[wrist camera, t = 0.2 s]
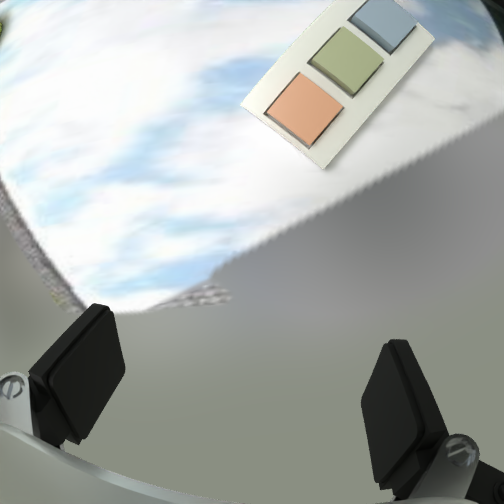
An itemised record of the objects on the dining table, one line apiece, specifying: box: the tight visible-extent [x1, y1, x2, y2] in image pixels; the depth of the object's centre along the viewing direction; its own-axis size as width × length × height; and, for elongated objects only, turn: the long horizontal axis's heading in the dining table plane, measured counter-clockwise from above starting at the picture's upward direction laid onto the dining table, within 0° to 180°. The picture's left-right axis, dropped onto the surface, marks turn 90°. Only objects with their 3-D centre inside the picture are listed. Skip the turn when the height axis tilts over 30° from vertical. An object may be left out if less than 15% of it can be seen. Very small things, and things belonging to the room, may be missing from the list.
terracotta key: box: [267, 73, 343, 145], centre depth 30 cm, size 6×6×2 cm
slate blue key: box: [350, 0, 418, 52], centre depth 24 cm, size 6×6×2 cm
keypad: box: [240, 0, 435, 170], centre depth 29 cm, size 24×12×3 cm, turn 142°
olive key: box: [311, 26, 384, 95], centre depth 27 cm, size 6×6×2 cm
